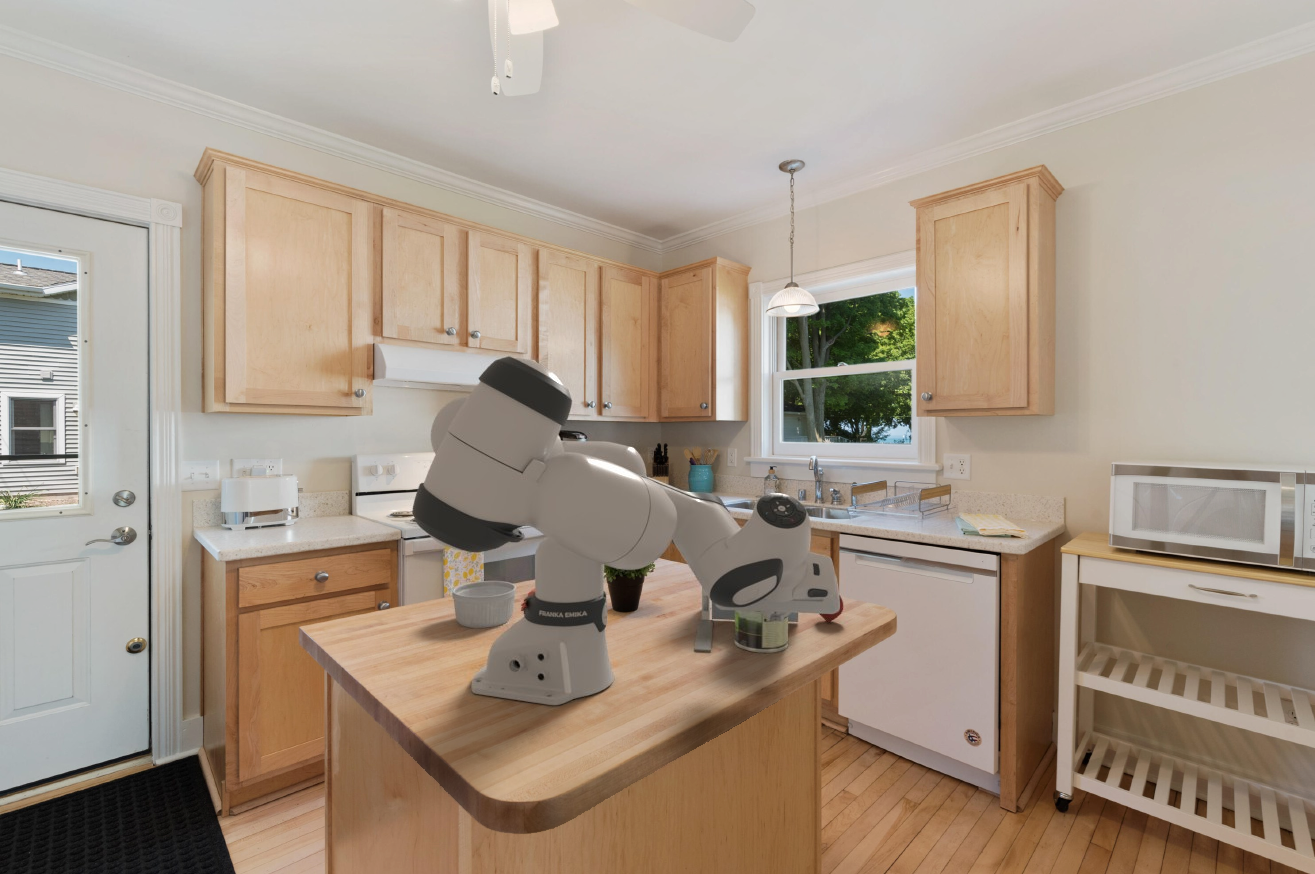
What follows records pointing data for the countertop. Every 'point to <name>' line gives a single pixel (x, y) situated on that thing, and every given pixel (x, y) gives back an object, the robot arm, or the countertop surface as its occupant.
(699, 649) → the door frame
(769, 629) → the coffee can
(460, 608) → the ramekin
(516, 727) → the countertop surface
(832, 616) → the onion
